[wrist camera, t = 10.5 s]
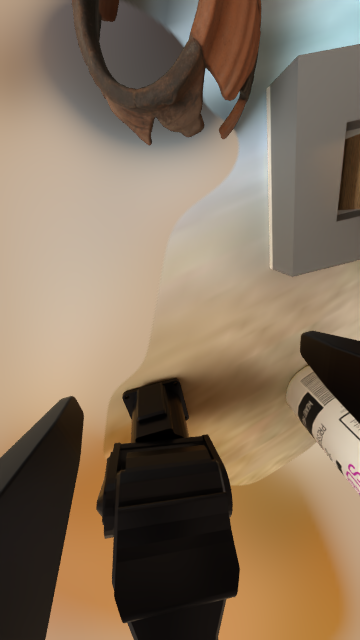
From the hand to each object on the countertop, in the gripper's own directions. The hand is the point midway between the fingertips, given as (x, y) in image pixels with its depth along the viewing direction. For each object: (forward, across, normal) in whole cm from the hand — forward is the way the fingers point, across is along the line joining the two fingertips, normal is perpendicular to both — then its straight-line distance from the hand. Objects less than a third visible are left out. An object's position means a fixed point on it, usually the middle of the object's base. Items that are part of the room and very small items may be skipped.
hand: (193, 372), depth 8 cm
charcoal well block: (+13, -17, -6) cm, 22 cm away
